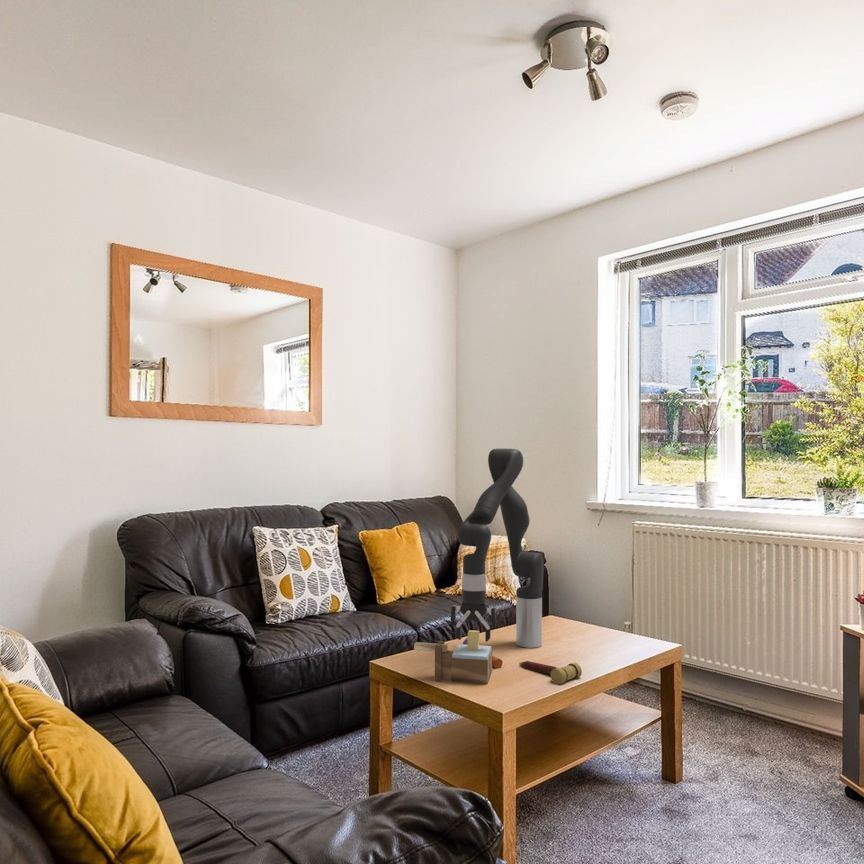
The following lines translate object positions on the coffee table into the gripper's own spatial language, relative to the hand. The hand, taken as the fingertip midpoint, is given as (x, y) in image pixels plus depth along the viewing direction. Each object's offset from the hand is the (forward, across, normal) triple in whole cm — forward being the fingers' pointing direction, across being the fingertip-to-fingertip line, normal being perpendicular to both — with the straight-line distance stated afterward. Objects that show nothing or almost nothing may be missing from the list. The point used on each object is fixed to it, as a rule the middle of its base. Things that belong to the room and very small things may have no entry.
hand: (473, 640), depth 210 cm
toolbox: (+11, +2, +3) cm, 11 cm away
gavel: (+11, -22, -6) cm, 25 cm away
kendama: (+11, -1, -16) cm, 19 cm away
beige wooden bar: (+2, +12, +6) cm, 14 cm away
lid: (+5, 0, +2) cm, 5 cm away
